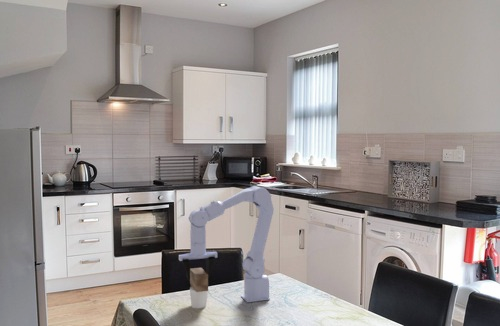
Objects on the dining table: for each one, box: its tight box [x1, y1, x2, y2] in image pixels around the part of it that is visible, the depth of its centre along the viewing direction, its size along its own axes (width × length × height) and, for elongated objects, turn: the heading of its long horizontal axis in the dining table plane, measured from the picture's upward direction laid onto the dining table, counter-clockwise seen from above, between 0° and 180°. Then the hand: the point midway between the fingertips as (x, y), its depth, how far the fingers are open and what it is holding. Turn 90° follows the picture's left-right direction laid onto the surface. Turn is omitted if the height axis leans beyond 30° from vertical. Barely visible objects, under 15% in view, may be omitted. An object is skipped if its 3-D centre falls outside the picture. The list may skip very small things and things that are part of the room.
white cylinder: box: [189, 285, 209, 309], centre depth 169 cm, size 7×7×7 cm
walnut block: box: [189, 267, 209, 292], centre depth 168 cm, size 4×10×6 cm, turn 20°
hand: (198, 277), depth 169 cm, fingers open, 7 cm apart
